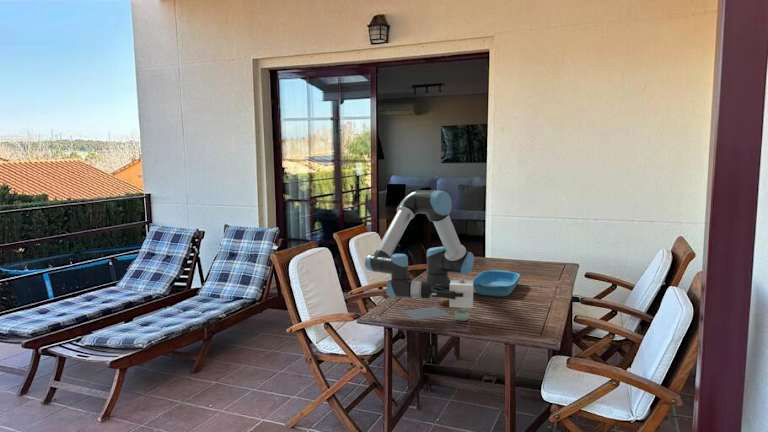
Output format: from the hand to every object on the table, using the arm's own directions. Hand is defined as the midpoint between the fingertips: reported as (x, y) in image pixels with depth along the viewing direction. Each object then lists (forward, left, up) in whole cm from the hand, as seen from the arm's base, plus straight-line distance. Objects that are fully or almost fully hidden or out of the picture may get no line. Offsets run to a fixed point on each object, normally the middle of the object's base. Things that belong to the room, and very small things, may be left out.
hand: (471, 291), depth 224 cm
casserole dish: (-43, -40, -14) cm, 60 cm away
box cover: (+4, -2, -6) cm, 7 cm away
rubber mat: (+13, -18, -13) cm, 26 cm away
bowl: (+3, -3, -13) cm, 14 cm away
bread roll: (-4, -25, -14) cm, 29 cm away
